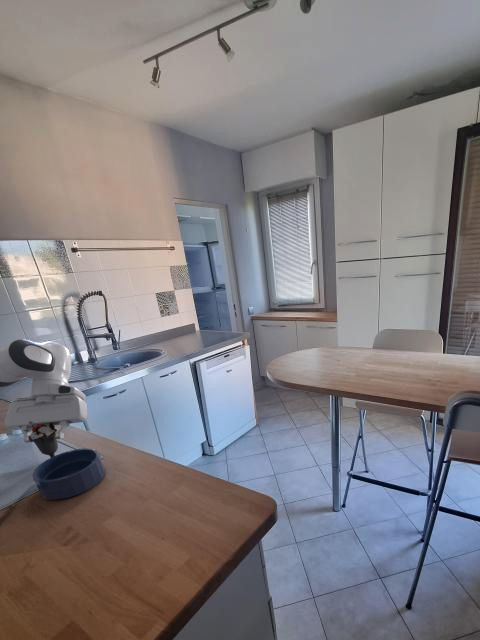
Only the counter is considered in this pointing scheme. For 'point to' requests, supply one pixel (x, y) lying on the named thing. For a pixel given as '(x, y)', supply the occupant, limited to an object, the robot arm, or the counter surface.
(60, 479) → the basin
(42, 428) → the sundae
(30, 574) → the counter surface
